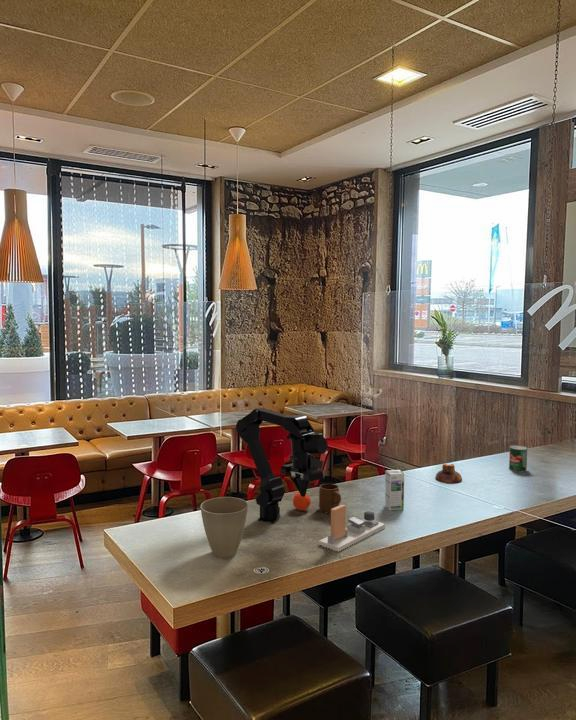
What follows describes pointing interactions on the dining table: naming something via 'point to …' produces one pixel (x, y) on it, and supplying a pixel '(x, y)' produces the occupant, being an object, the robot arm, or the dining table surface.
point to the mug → (329, 497)
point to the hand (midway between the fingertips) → (303, 496)
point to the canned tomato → (518, 458)
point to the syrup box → (394, 489)
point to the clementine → (301, 501)
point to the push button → (369, 516)
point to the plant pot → (224, 524)
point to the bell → (448, 474)
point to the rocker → (356, 522)
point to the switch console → (352, 535)
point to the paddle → (338, 521)
